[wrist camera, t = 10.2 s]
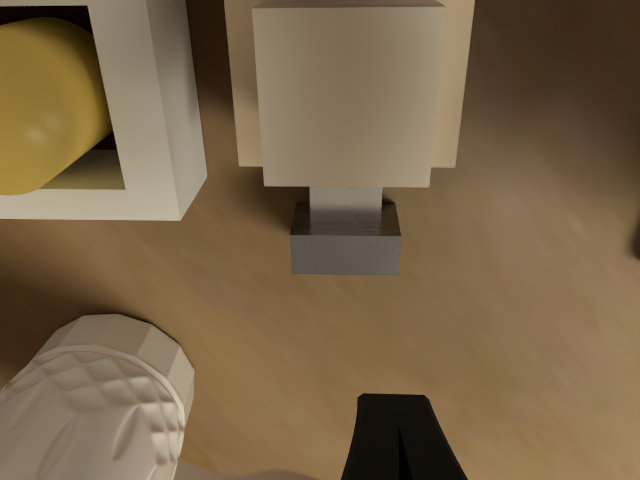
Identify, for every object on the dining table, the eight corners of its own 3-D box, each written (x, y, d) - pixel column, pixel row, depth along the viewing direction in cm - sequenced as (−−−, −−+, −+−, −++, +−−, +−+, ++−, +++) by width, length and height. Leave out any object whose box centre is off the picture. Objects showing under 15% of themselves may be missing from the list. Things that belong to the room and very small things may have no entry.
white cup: (229, 333, 23) (154, 577, 14) (187, 449, 26) (107, 699, 18) (44, 275, 22) (-163, 499, 13) (27, 404, 25) (-142, 646, 17)
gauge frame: (180, -44, 16) (139, -41, 13) (207, 176, 19) (180, 220, 16) (-80, -40, 16) (-180, -37, 13) (-8, 175, 19) (-74, 218, 16)
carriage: (463, -67, 15) (542, -77, 9) (442, 140, 18) (490, 240, 12) (236, -64, 15) (162, -70, 9) (252, 139, 18) (204, 236, 12)
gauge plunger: (110, 16, 16) (40, 36, 12) (134, 146, 18) (81, 196, 14) (-22, 17, 16) (-127, 37, 12) (17, 146, 18) (-64, 194, 14)
